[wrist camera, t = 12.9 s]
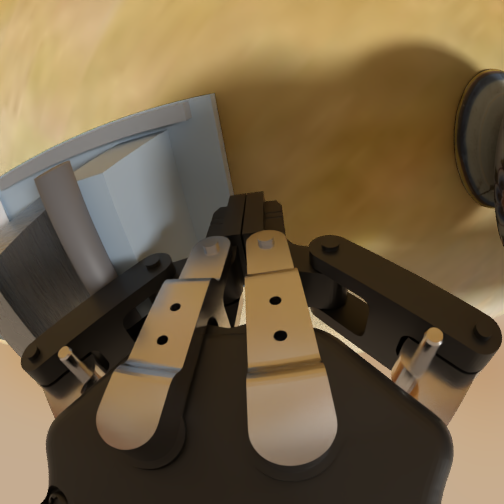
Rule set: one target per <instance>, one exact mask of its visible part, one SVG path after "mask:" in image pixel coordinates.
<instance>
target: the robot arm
mask: <svg viewBox="0 0 504 504" xmlns="http://www.w3.org/2000/svg"><path fill="white" fill-rule="evenodd" d="M244 285H245V300H246V324H244V325H241V326H239V323H240V318H241V312H242V307H243V300H244V299H243V295H242V292H243V286H244ZM348 289H349V290H350V291H352V292H354V293H355V294H357V295H358V296H360V297H362V298H363V299H364V300H365V301H366V302H367V304H366V303H365V302H363V301H362V300H360V299H358V298H357V297H355V296H353V295H352V294H350V293H349V292H348ZM148 297H149V299H150V301H151V303H152V307H151V310H150V312H149V314H147V315H146V316H145V317H143V318H142V319H141V320H140V321H138V322H137V323H136V324H135V325H133V326H132V327H131V328H129V329H125V328H124V326H123V319H124V317H125V315H126V314H127V313H129V312H130V311H131V310H133V309H134V308H135V307H137V306H138V305H139V304H140V303H142V302H143V301H144V300H146V299H147V298H148ZM308 307H310V309H311V312H312V313H313V314H314V315H315V316H316V317H317V318H319V319H320V320H321V321H323V322H324V323H325V324H327V325H328V326H330V327H331V328H332V329H334V330H335V331H336V332H338V333H339V334H341V335H342V336H343V337H345V338H346V339H348V340H349V341H350V342H352V343H353V344H354V345H356V346H357V347H359V348H360V349H361V350H363V351H364V352H366V353H367V354H369V355H370V356H371V357H373V358H374V359H376V360H377V361H378V362H380V363H381V364H382V365H384V366H385V367H387V368H388V369H389V370H391V379H392V380H390V379H389V378H388V377H386V376H385V375H384V374H383V373H381V372H380V371H379V370H377V369H376V368H375V367H374V366H372V365H371V364H370V363H368V362H367V361H366V360H365V359H363V358H362V357H361V356H359V355H358V354H357V353H356V352H354V351H353V350H352V349H351V348H349V347H348V346H347V345H346V344H344V343H343V342H342V341H341V340H339V339H338V338H336V337H335V336H333V335H331V334H330V333H327V332H325V331H323V330H320V329H317V328H313V325H312V321H311V317H310V314H309V310H308ZM501 342H502V334H501V330H500V328H499V326H498V325H497V323H496V322H495V321H494V320H493V319H492V318H491V317H489V316H488V315H486V314H485V313H483V312H481V311H480V310H478V309H476V308H475V307H473V306H471V305H469V304H468V303H466V302H464V301H463V300H461V299H459V298H457V297H456V296H454V295H452V294H450V293H449V292H447V291H445V290H443V289H441V288H440V287H438V286H436V285H434V284H432V283H431V282H429V281H427V280H425V279H423V278H421V277H419V276H418V275H416V274H414V273H412V272H410V271H408V270H406V269H404V268H402V267H400V266H399V265H397V264H395V263H393V262H391V261H389V260H387V259H385V258H383V257H381V256H379V255H377V254H375V253H373V252H371V251H369V250H367V249H365V248H363V247H361V246H359V245H357V244H355V243H353V242H350V241H348V240H346V239H344V238H342V237H339V236H334V235H326V236H320V237H318V238H316V239H314V240H313V241H312V242H311V243H310V244H309V247H306V246H299V245H296V244H293V243H291V242H290V241H289V240H288V239H287V238H286V235H285V228H284V220H283V213H282V205H281V204H280V203H278V202H277V201H276V200H275V201H266V202H265V198H264V192H263V191H261V192H253V193H247V194H246V193H245V194H238V195H230V197H229V201H228V205H227V206H226V207H220V208H219V209H218V210H216V211H215V212H214V214H213V217H212V221H211V223H210V226H209V229H208V232H207V235H206V238H205V239H202V240H200V241H199V242H197V243H196V244H195V245H194V247H193V249H192V251H191V253H190V255H189V257H188V258H185V259H182V260H179V261H176V262H172V259H171V256H170V255H169V254H166V253H155V254H152V255H150V256H148V257H146V258H144V259H143V260H141V261H140V262H138V263H137V264H135V265H134V266H132V267H131V268H130V269H128V270H127V271H125V272H124V273H122V274H121V275H120V276H118V277H117V278H115V279H114V280H113V281H111V282H110V283H108V284H107V285H106V286H104V287H103V288H101V289H100V290H99V291H97V292H96V293H95V294H93V295H92V296H91V297H89V298H88V299H87V300H85V301H84V302H82V303H81V304H80V305H79V306H77V307H76V308H75V309H73V310H72V311H71V312H69V313H68V314H67V315H65V316H64V317H63V318H62V319H60V320H59V321H58V322H56V323H55V324H54V325H53V326H51V327H50V328H49V329H48V330H46V331H45V332H44V333H43V334H41V335H40V336H39V337H38V338H36V339H35V340H34V341H33V342H32V343H30V344H29V345H28V346H27V348H26V349H25V351H24V352H23V354H22V358H21V365H22V368H23V369H24V370H25V371H26V372H27V373H28V374H29V375H30V376H31V377H32V378H33V379H34V380H35V381H36V382H37V384H38V385H40V387H42V388H43V391H44V393H45V396H46V398H47V401H48V403H49V406H50V408H51V410H52V413H53V415H54V417H55V420H54V421H53V423H52V424H51V426H50V428H49V431H48V434H47V439H46V453H47V460H48V468H49V489H48V493H47V496H46V498H45V499H44V501H43V502H42V503H41V504H441V500H442V496H443V491H444V488H445V484H446V481H447V478H448V475H449V472H450V469H451V465H452V462H453V443H452V437H451V435H450V432H449V430H448V428H447V425H448V424H449V422H450V421H451V419H452V417H453V416H454V414H455V412H456V411H457V409H458V407H459V406H460V404H461V402H462V400H463V399H464V397H465V395H466V393H467V391H468V389H469V387H470V385H471V384H472V381H473V380H474V379H475V378H476V377H477V376H478V374H479V373H480V372H481V371H482V370H483V368H484V367H485V366H486V365H487V363H488V362H489V361H490V360H491V358H492V357H493V356H494V354H495V353H496V352H497V350H498V349H499V347H500V345H501Z"/></svg>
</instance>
